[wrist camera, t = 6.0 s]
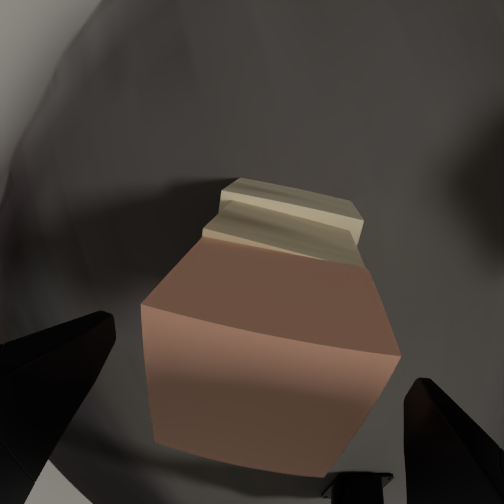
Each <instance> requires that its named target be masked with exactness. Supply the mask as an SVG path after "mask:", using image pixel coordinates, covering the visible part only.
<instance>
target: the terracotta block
mask: <svg viewBox="0 0 504 504" xmlns="http://www.w3.org/2000/svg"><path fill="white" fill-rule="evenodd" d="M141 319H142V335H143V348H144V360H145V370H146V380H147V389H148V397H149V405H150V412H151V419H152V426H153V432H154V438H155V443H158V444H161V445H164V446H167V447H170V448H173V449H177V450H180V451H183V452H187V453H190V454H194V455H197V456H201V457H205V458H208V459H212V460H216V461H220V462H225V463H229V464H234V465H238V466H243V467H248V468H253V469H259V470H265V471H271V472H277V473H284V474H292V475H300V476H309V477H321V478H324V477H325V475H326V474H327V473H328V472H329V470H330V469H331V468H332V466H333V465H334V464H335V462H336V461H337V460H338V458H339V457H340V456H341V454H342V453H343V451H344V450H345V449H346V447H347V446H348V444H349V443H350V441H351V440H352V439H353V437H354V436H355V434H356V433H357V431H358V430H359V428H360V427H361V425H362V424H363V422H364V420H365V419H366V417H367V416H368V414H369V413H370V411H371V409H372V408H373V406H374V404H375V403H376V401H377V399H378V398H379V396H380V394H381V393H382V391H383V389H384V387H385V386H386V384H387V382H388V380H389V378H390V377H391V375H392V373H393V371H394V369H395V367H396V366H397V364H398V362H399V360H400V358H401V354H400V351H399V348H398V345H397V342H396V340H395V337H394V334H393V331H392V328H391V326H390V323H389V320H388V317H387V315H386V312H385V309H384V307H383V304H382V302H381V299H380V297H379V294H378V291H377V289H376V286H375V284H374V282H373V279H372V277H371V274H370V272H369V269H365V268H360V267H355V266H351V265H346V264H341V263H336V262H331V261H326V260H321V259H316V258H311V257H306V256H301V255H296V254H291V253H285V252H280V251H275V250H270V249H265V248H260V247H255V246H250V245H245V244H240V243H235V242H230V241H225V240H219V239H214V238H209V237H204V236H203V237H202V238H201V239H200V240H199V241H198V242H197V243H196V244H195V245H194V246H193V247H192V248H191V250H190V251H189V252H188V253H187V254H186V255H185V256H184V257H183V258H182V259H181V260H180V261H179V262H178V264H177V265H176V266H175V267H174V268H173V269H172V270H171V271H170V272H169V273H168V274H167V276H166V277H165V278H164V279H163V280H162V281H161V282H160V283H159V284H158V285H157V287H156V288H155V289H154V290H153V291H152V292H151V293H150V294H149V295H148V297H147V298H146V299H145V300H144V301H143V302H142V303H141Z"/></svg>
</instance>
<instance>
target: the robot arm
mask: <svg viewBox="0 0 504 504" xmlns="http://www.w3.org/2000/svg"><path fill="white" fill-rule="evenodd" d="M115 340H116V331H115V322H114V317H113V315H112V314H111V313H108V312H105V311H97V312H94V313H91V314H88V315H86V316H83V317H80V318H77V319H74V320H71V321H68V322H65V323H62V324H59V325H56V326H53V327H50V328H47V329H44V330H42V331H39V332H36V333H33V334H30V335H27V336H24V337H21V338H18V339H15V340H12V341H9V342H6V343H4V344H0V504H24V503H25V501H26V499H27V497H28V495H29V493H30V492H31V490H32V488H33V486H34V484H35V481H36V480H37V478H38V476H39V475H40V473H41V471H42V469H43V467H44V466H45V464H46V462H47V460H48V459H49V457H50V455H51V453H52V452H53V450H54V448H55V447H56V445H57V443H58V441H59V440H60V438H61V436H62V435H63V433H64V431H65V430H66V428H67V426H68V425H69V423H70V421H71V420H72V418H73V417H74V415H75V413H76V412H77V410H78V408H79V407H80V405H81V404H82V402H83V400H84V399H85V397H86V396H87V394H88V393H89V391H90V389H91V388H92V386H93V385H94V383H95V381H96V379H97V377H98V376H99V373H100V371H101V369H102V367H103V365H104V363H105V361H106V359H107V357H108V355H109V353H110V351H111V349H112V347H113V346H114V343H115ZM404 457H405V470H406V489H407V504H504V451H503V450H502V449H501V448H500V447H499V446H498V445H497V444H496V443H495V442H494V441H493V439H492V438H491V437H490V436H489V435H488V434H487V433H486V432H485V431H484V430H483V429H482V428H481V427H480V426H479V425H478V424H477V423H475V422H474V421H473V420H472V419H471V418H470V417H469V416H468V415H467V414H466V413H465V412H464V411H463V410H462V409H461V408H460V407H459V406H458V405H457V404H456V403H455V402H454V401H453V400H452V399H451V398H450V397H449V396H448V395H447V394H446V393H445V392H444V391H443V390H442V389H441V388H440V387H439V386H438V385H436V384H435V383H434V382H433V381H432V380H431V379H430V378H417V379H416V380H415V382H414V383H413V385H412V387H411V388H410V390H409V391H408V393H407V395H406V396H405V399H404ZM393 478H394V477H393V474H351V473H342V474H339V475H338V476H337V477H336V478H335V479H334V481H333V482H332V483H331V484H330V485H329V486H328V487H327V489H326V490H325V491H324V492H323V493H322V494H321V498H326V499H331V504H384V498H383V488H384V487H385V486H386V485H387V484H388V483H389V482H390V481H391V480H392V479H393Z"/></svg>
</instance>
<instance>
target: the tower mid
mask: <svg viewBox="0 0 504 504" xmlns="http://www.w3.org/2000/svg"><path fill="white" fill-rule="evenodd" d="M203 236H204V237H209V238H214V239H219V240H225V241H230V242H235V243H240V244H245V245H250V246H255V247H260V248H265V249H270V250H275V251H280V252H285V253H291V254H296V255H301V256H306V257H311V258H316V259H321V260H326V261H331V262H336V263H341V264H346V265H351V266H355V267H360V268H365V266H364V263H363V261H362V258H361V256H360V254H359V251H358V249H357V247H356V244H355V242H354V240H353V237H352V235H351V233H350V231H349V230H345V229H342V228H338V227H335V226H331V225H327V224H324V223H320V222H316V221H313V220H309V219H305V218H302V217H298V216H294V215H290V214H286V213H283V212H279V211H275V210H271V209H267V208H263V207H259V206H255V205H251V204H247V203H243V202H239V201H235V200H232V201H231V202H230V203H229V204H228V205H227V206H226V207H225V208H224V209H223V210H222V211H221V212H219V213H218V214H217V215H216V216H215V217H214V218H213V219H212V220H211V221H210V222H209V223H208V224H207V225H206V226H205V227H204V228H203V233H202V237H203ZM365 269H366V268H365Z"/></svg>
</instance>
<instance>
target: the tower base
mask: <svg viewBox="0 0 504 504" xmlns="http://www.w3.org/2000/svg"><path fill="white" fill-rule="evenodd" d="M232 200H235V201H239V202H243V203H247V204H251V205H255V206H259V207H263V208H267V209H271V210H275V211H279V212H283V213H286V214H290V215H294V216H298V217H302V218H305V219H309V220H313V221H316V222H320V223H324V224H327V225H331V226H335V227H338V228H342V229H345V230H349V231H350V233H351V235H352V237H353V240H354V242H355V244H356V247H357V244H358V240H359V237H360V233H361V230H362V226H363V223H364V220H363V218H362V217H361V215H360V214H359V212H358V211H357V209H356V208H355V206H354V205H353V203H352V202H351V201H349V200H345V199H340V198H336V197H332V196H327V195H323V194H319V193H314V192H310V191H305V190H300V189H296V188H291V187H286V186H281V185H276V184H271V183H266V182H261V181H256V180H250V179H245V178H239V179H237V180H236V181H234V182H233V183H232V184H230V185H229V186H227V187H226V188H224V189H223V190H222V191H221V198H220V205H219V212H221V211H222V210H223V209H224V208H225V207H226V206H227V205H228V204H229V203H230V202H231V201H232Z"/></svg>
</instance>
